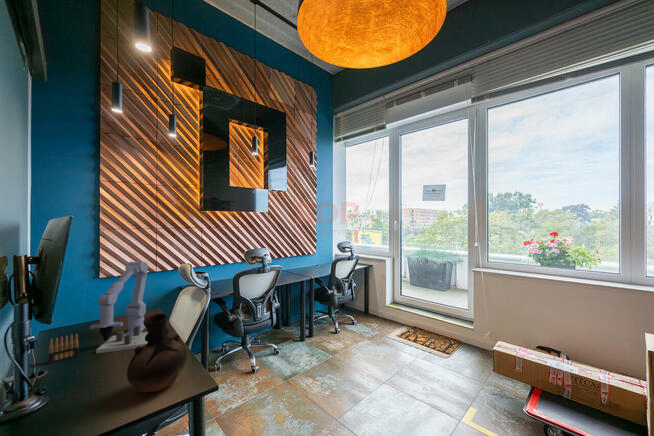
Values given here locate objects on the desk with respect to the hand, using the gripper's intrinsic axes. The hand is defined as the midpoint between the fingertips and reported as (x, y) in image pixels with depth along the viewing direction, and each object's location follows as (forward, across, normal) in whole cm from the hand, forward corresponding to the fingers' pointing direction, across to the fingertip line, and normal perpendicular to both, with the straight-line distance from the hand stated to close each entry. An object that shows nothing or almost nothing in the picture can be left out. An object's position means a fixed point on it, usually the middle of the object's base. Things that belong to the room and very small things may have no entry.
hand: (106, 340), depth 145 cm
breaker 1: (+1, +12, -6) cm, 14 cm away
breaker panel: (+3, +10, 0) cm, 11 cm away
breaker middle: (+1, +6, 0) cm, 6 cm away
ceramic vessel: (+3, +40, -52) cm, 66 cm away
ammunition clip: (+3, -12, -12) cm, 18 cm away
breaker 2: (+1, +12, +6) cm, 14 cm away
